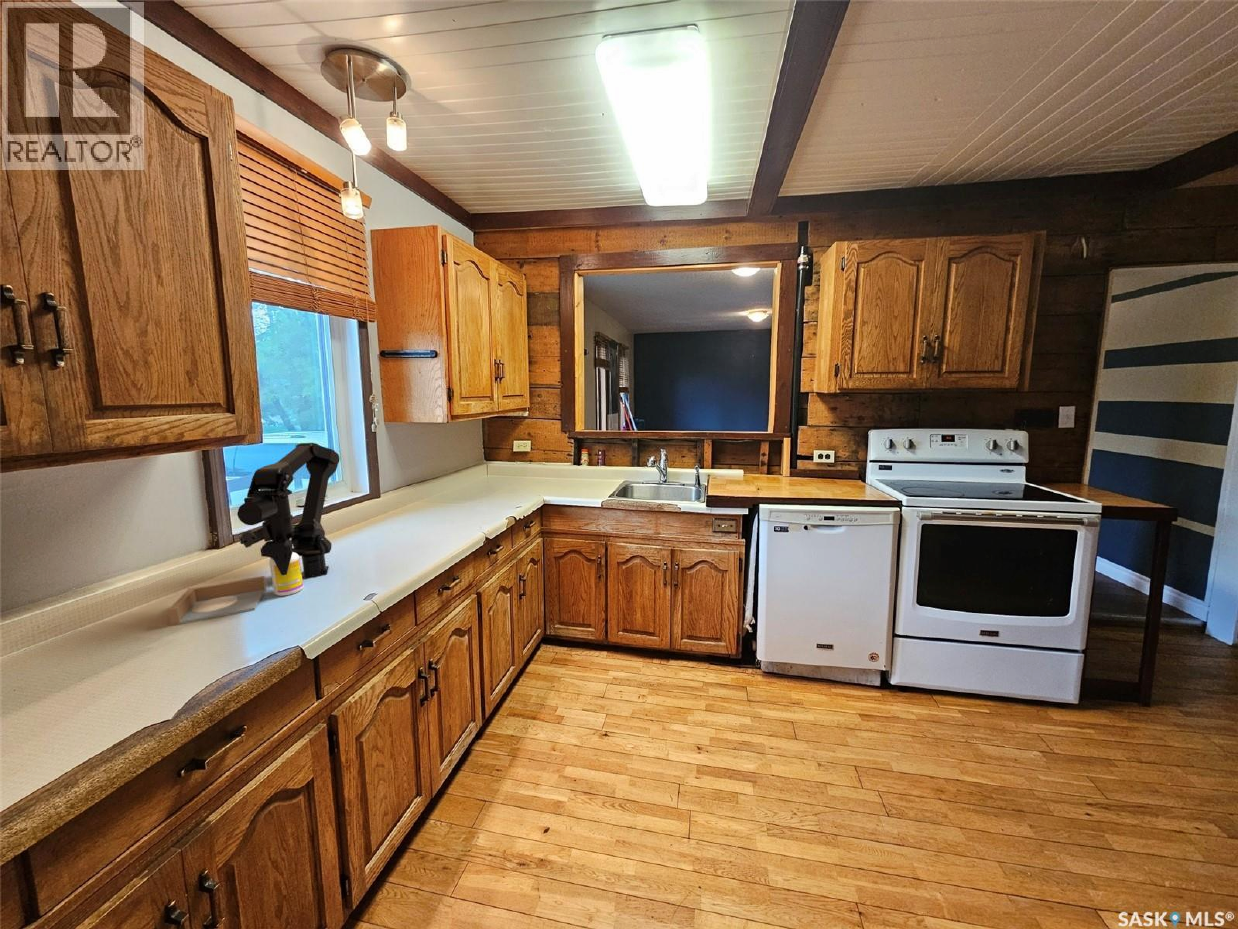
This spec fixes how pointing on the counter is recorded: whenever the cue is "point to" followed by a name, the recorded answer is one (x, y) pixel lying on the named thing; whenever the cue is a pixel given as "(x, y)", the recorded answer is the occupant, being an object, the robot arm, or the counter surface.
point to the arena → (217, 600)
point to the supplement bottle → (287, 577)
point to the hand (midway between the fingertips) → (286, 570)
